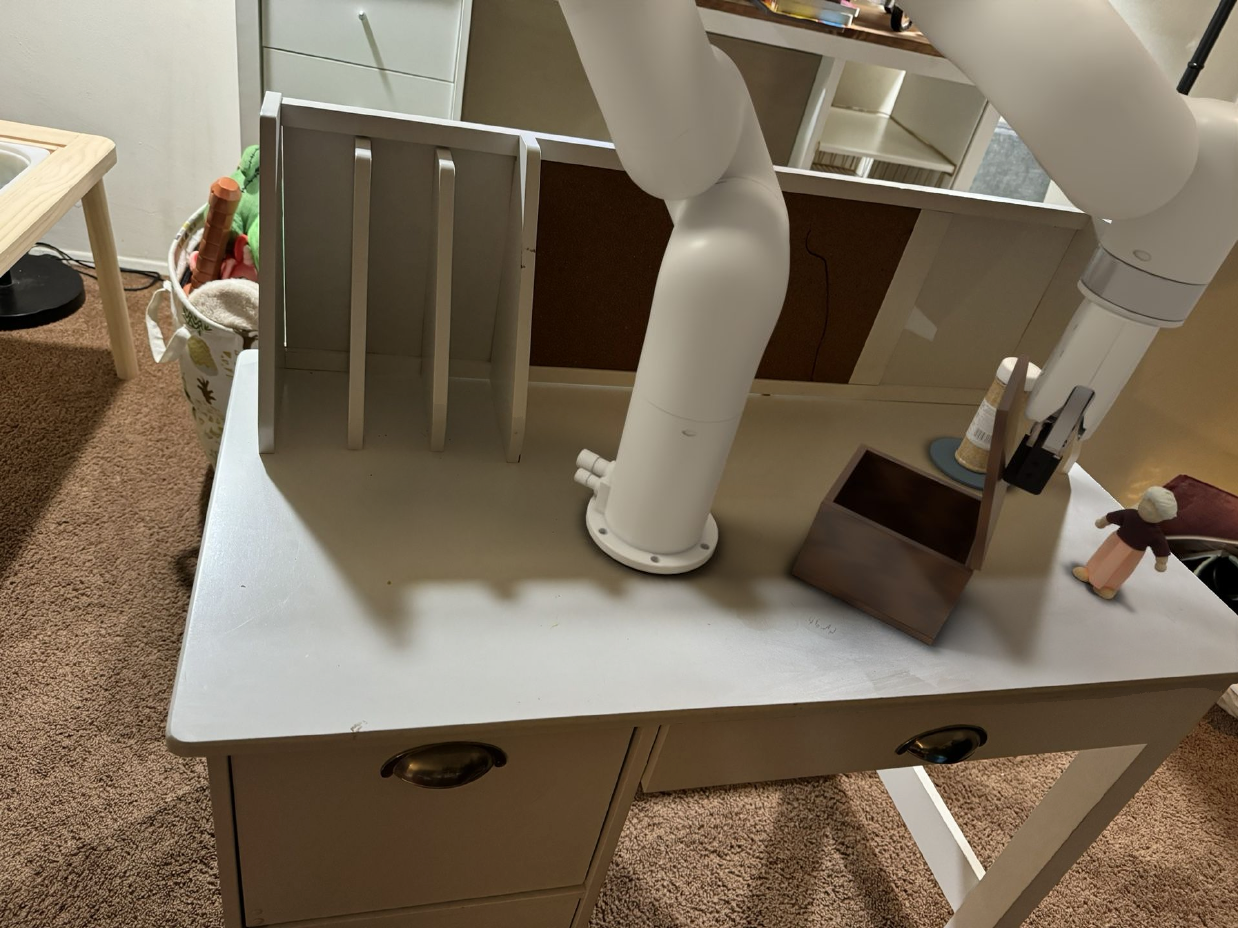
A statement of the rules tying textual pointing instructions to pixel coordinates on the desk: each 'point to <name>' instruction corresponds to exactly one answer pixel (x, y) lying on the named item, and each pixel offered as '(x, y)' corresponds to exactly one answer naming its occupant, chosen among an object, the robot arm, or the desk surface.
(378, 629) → the desk surface
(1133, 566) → the grandmother figurine
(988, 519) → the chest lid
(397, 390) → the desk surface
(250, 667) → the desk surface
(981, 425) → the sprinkles bottle
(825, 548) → the chest
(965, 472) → the mat
